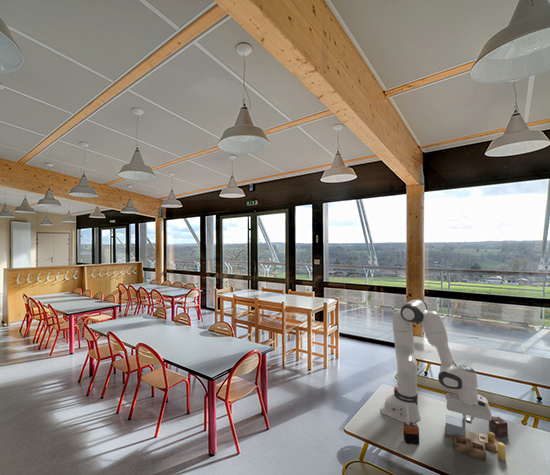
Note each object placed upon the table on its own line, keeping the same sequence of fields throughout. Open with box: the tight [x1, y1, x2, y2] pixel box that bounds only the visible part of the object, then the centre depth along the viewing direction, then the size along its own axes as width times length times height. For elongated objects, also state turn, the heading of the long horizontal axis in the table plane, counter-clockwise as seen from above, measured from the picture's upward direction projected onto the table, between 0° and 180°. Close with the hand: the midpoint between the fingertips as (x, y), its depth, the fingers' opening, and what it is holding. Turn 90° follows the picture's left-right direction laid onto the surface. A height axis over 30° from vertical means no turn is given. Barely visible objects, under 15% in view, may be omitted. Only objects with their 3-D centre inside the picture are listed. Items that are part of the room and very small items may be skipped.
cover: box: [445, 413, 466, 437], centre depth 156 cm, size 9×9×9 cm
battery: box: [402, 422, 420, 446], centre depth 151 cm, size 4×7×10 cm, turn 81°
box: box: [488, 416, 509, 438], centre depth 156 cm, size 6×6×7 cm
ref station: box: [444, 424, 499, 453], centre depth 152 cm, size 24×10×6 cm, turn 57°
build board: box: [453, 434, 487, 461], centre depth 144 cm, size 13×9×3 cm
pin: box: [497, 441, 507, 462], centre depth 138 cm, size 3×3×7 cm
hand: (468, 422), depth 153 cm, fingers closed
